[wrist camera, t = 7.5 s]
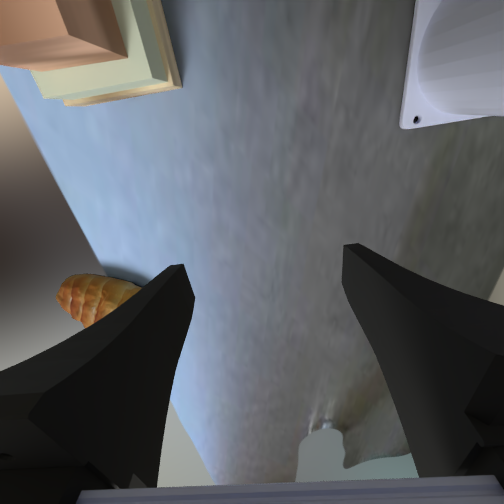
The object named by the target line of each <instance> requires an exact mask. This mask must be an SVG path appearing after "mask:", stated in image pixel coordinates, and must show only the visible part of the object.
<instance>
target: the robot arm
mask: <svg viewBox="0 0 504 504" xmlns="http://www.w3.org/2000/svg"><path fill="white" fill-rule="evenodd" d="M416 116H418V121H417V122H416V123H413V120H414V118H415V117H416ZM486 116H504V0H416V2H415V10H414V17H413V25H412V32H411V39H410V47H409V54H408V62H407V69H406V76H405V84H404V91H403V99H402V106H401V113H400V121H399V125H400V127H401V128H403V129H412V128H418V127H424V126H431V125H437V124H443V123H449V122H455V121H462V120H468V119H474V118H480V117H486ZM342 285H343V288H344V291H345V294H346V296H347V299H348V302H349V304H350V306H351V308H352V310H353V312H354V314H355V315H356V317H357V319H358V321H359V323H360V325H361V327H362V329H363V331H364V333H365V335H366V337H367V338H368V340H369V342H370V344H371V346H372V348H373V350H374V353H375V355H376V357H377V360H378V362H379V365H380V367H381V370H382V372H383V375H384V377H385V380H386V382H387V385H388V388H389V391H390V393H391V396H392V399H393V401H394V404H395V407H396V410H397V412H398V415H399V418H400V421H401V424H402V427H403V430H404V432H405V435H406V438H407V441H408V444H409V447H410V451H411V454H412V457H413V459H414V463H415V466H416V469H417V472H418V475H419V478H400V479H375V480H374V479H373V480H348V481H320V482H293V483H266V484H240V485H213V486H187V487H161V488H157V481H158V472H159V465H160V457H161V449H162V442H163V436H164V430H165V423H166V417H167V412H168V406H169V401H170V395H171V390H172V385H173V380H174V376H175V371H176V367H177V364H178V360H179V357H180V354H181V351H182V348H183V344H184V341H185V338H186V335H187V332H188V329H189V325H190V322H191V319H192V314H193V309H194V302H195V296H194V293H193V290H192V287H191V284H190V281H189V278H188V276H187V273H186V270H185V267H184V264H178V265H170V266H169V267H167V268H166V269H165V270H164V271H162V272H161V273H160V274H159V275H157V276H156V277H155V278H154V279H153V280H151V281H150V282H149V283H148V284H147V285H145V286H144V287H143V288H142V289H141V290H139V291H138V292H137V293H136V294H134V295H133V296H132V297H130V298H129V299H128V300H126V301H125V302H124V303H123V304H121V305H120V306H119V307H117V308H116V309H115V310H113V311H112V312H110V313H109V314H107V315H106V316H104V317H103V318H101V319H100V320H98V321H97V322H95V323H94V324H92V325H90V326H89V327H87V328H85V329H84V330H82V331H80V332H78V333H77V334H75V335H73V336H71V337H70V338H68V339H66V340H65V341H63V342H61V343H59V344H57V345H55V346H53V347H51V348H49V349H47V350H46V351H44V352H41V353H39V354H37V355H36V356H33V357H31V358H29V359H27V360H25V361H23V362H21V363H19V364H16V365H14V366H12V367H10V368H7V369H5V370H3V371H0V504H504V306H503V305H500V304H496V303H493V302H490V301H487V300H483V299H480V298H477V297H474V296H471V295H468V294H465V293H462V292H459V291H457V290H454V289H451V288H449V287H446V286H444V285H441V284H439V283H436V282H434V281H431V280H429V279H427V278H424V277H422V276H420V275H418V274H416V273H414V272H412V271H409V270H407V269H405V268H403V267H401V266H399V265H398V264H396V263H394V262H392V261H390V260H388V259H386V258H385V257H383V256H381V255H379V254H377V253H376V252H374V251H372V250H370V249H368V248H367V247H365V246H363V245H361V244H359V243H356V244H348V245H344V248H343V267H342Z"/></svg>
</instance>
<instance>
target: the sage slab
mask: <svg viewBox="0 0 504 504" xmlns="http://www.w3.org/2000/svg"><path fill="white" fill-rule="evenodd" d="M111 2H112V6H113V9H114V12H115V16H116V19H117V22H118V26H119V29H120V32H121V36H122V39H123V42H124V46H125V49H126V52H127V56H128V58H126V59H120V60H113V61H107V62H101V63H94V64H88V65H82V66H75V67H69V68H63V69H56V70H50V71H44V72H40V71H34V70H30V71H31V73H32V75H33V77H34V79H35V81H36V83H37V85H38V87H39V89H40V92H41V94H42V96H43V98H44V99H68V100H76V99H81V98H86V97H92V96H97V95H102V94H108V93H113V92H119V91H124V90H129V89H135V88H140V87H145V86H151V85H156V84H161V83H167V82H168V80H167V76H166V73H165V69H164V65H163V61H162V58H161V54H160V50H159V46H158V43H157V39H156V35H155V31H154V28H153V24H152V20H151V16H150V13H149V9H148V5H147V1H146V0H111Z"/></svg>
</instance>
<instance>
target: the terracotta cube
mask: <svg viewBox="0 0 504 504" xmlns="http://www.w3.org/2000/svg"><path fill="white" fill-rule="evenodd" d="M126 58H128V56H127V52H126V49H125V46H124V42H123V39H122V36H121V32H120V29H119V26H118V22H117V19H116V16H115V12H114V9H113V6H112V2H111V0H0V65H4V66H10V67H16V68H22V69H28V70H34V71H40V72H44V71H50V70H56V69H63V68H69V67H75V66H82V65H88V64H94V63H101V62H107V61H113V60H120V59H126Z"/></svg>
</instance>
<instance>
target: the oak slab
mask: <svg viewBox="0 0 504 504" xmlns="http://www.w3.org/2000/svg"><path fill="white" fill-rule="evenodd" d="M146 1H147V5H148V9H149V13H150V16H151V20H152V24H153V28H154V31H155V35H156V39H157V43H158V46H159V50H160V54H161V58H162V61H163V65H164V69H165V73H166V76H167V80H168V82H167V83H161V84H156V85H151V86H145V87H140V88H135V89H129V90H124V91H119V92H113V93H108V94H102V95H97V96H92V97H86V98H81V99H76V100H68V99H63V102H64V104H65V106H89V105H95V104H100V103H105V102H111V101H116V100H121V99H126V98H132V97H137V96H142V95H147V94H153V93H158V92H163V91H169V90H174V89H179V88H182V84H181V80H180V76H179V72H178V68H177V64H176V60H175V56H174V52H173V47H172V43H171V39H170V35H169V31H168V27H167V23H166V19H165V15H164V11H163V7H162V3H161V0H146Z"/></svg>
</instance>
